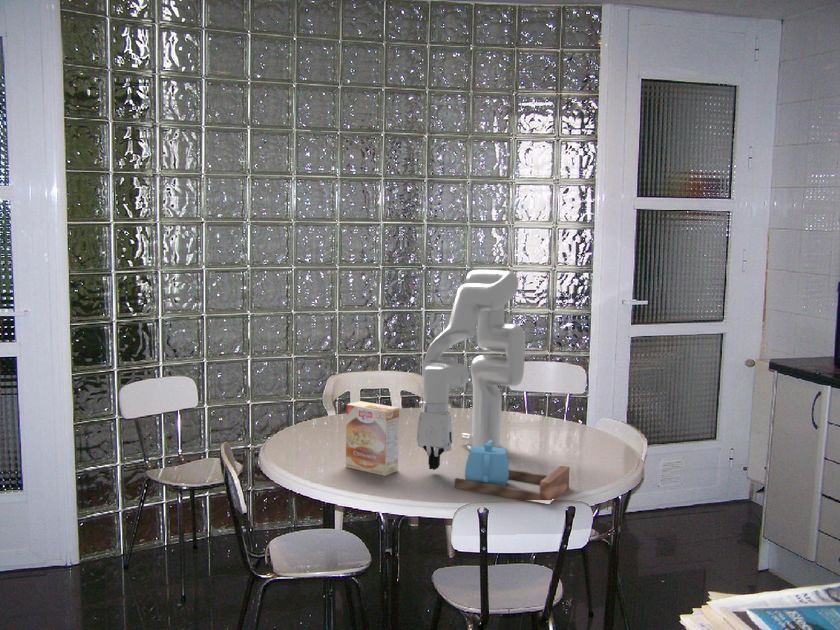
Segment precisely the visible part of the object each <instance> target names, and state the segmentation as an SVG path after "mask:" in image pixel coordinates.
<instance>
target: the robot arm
mask: <svg viewBox="0 0 840 630" xmlns="http://www.w3.org/2000/svg"><path fill="white" fill-rule="evenodd" d="M465 281H466V283H464V284H461V285H460V286H459V287H458V289H457V290H456V291H457V292H456V294H455V298H454V303H453V305H452V309H451V312H450V316H449V317H450V318H449V320H448V323H447V324H448V325H447V327H446V328H445V329H444V330H443V331H442V332H440V333H439V334H438V335H437V336H436V337H435V338H434V340H433V341H432V342H431V343H430V345H429V346H428V348H427V350H426V354H425V357H424V360H423V363H422V364H423V365H422V371H421V375H422V379H423V389H422V390H423V392H422V394H423V398H422V401H419V402H418V403H419V405H418V406H420V407H422V408H421V409H422V410H420V412H419V415H418V419H417V420H418V421H417V424H416V425H417V426H416V437H415V439H416V443H417V446H418V447H419V448H422V449H423V450H424V451H425V452H426V455H427V456H428V468H429V470H433V471H435V470H437V469H438V468H439V467H440V466H441V465H440V464H441V455H443V453H444V452H445V453H446V452H451V451H452V450H453V449H452V444H453V422H452V415H451V412H450V411H449V402H450V401H449V400H450V399H449V397H450V389H460V388H463V387H464V386H465V385H466V384H467V383H468V381H469V379H470V375H471V382H472V415H471V416H472V418H471V433H465V432H462V433H461V435H460V438H461V441H467V442H468V443H467V444H466V449H467V450H468V451H470V450H471V447H472V446H484V445H483V444H487V442H488V440H492V445H493V447H497V448H504V449H505V450H506V448H505V447H506V446H505V445H504V444H503V443H501V433H502V432H501V427H502V403H503V401H502V399H503V397H502V393H501V391H500V389H499V387H498V386H503V387H513V388H516V387H517V386H519V385H521V383H522V380H523V377H524V373H525V371H524V369H525V355H526V334H525V332H524V329H523V327H521V325H519V324H516V323H507V322H505V305H507V303H508V302H509V301H510V300H511V299H513V297H514V296H515V295H516V293H517V291H518V289H519V278H518V276H517V275H516V273H514V272H513V271H510V270H497V269H473V270H471V271H468V273H467V275H466V279H465ZM476 328H477V332H476ZM475 333H477V334H476V335H477V336H476V340H477V341H476V342H477V345H478V347H479V348H480V349H481V350H483V351H489V352H497V353H505V354H506V356H505V355H504V356H502V355H493V354H480V355H479V354H478V355H477V356H475V357H474V358H473V359H472V362H471V363H470V371H469V368H468V367H467V366H466V365H464V364H462V363H459V362H450V361H445V360H444V361H443V360H441V357H442V355H443V353H445V351H446V350H447V349H448V348H450V347H452V346H453V345H455V344H458V343H460V342H463V341H465V340H469V339H471V338H472V337H474V335H475Z"/></svg>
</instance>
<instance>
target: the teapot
mask: <svg viewBox="0 0 840 630" xmlns="http://www.w3.org/2000/svg"><path fill="white" fill-rule="evenodd" d="M483 445H484V446H472V447H471V450H469V453H468V456H467V458H466V463H465V468H464V469H465V470H464V478H465V479H466V480H471V481H477V482H483V483H488V484H494V485H499V486H505V487H506V485H507V483H508V480H509V478H508V477H509V469H510V468H509V460H508V455H507V450H506V448H505V449H504V448H497V447H493V445H492V440H488V442H487V444H483Z"/></svg>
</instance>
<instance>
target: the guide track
mask: <svg viewBox="0 0 840 630" xmlns="http://www.w3.org/2000/svg"><path fill="white" fill-rule="evenodd" d="M509 479H510V480H516V481H521V482H527V483H531V484H539V486H540V487H539V492H538V491H532V490H526V489H520V488H516V487H509V486H506V485H505V486H499V485H494V484H488V483H483V482H477V481H471V480H466V479H464V478H461V477H460V478H459V477H456V478H454V488H456V489H460V490H466V491H471V492H477V493H482V494H485V495H486V494H487V495H493V496H498V497H503V498H509V499H515V500H520V501H524V500H552V499H555V500H556V499H557V498H559V496H561V495H562V494H563V493H564V492H565V491H567V490H568V489H569V488H570V487H569V485H570V466H565V465H560V466H558V467H557V468H556V469H555V470H553V471H552V472H550V474H547V475H546V474H541V473H536V472H530V471H523V470H518V469H517V470H516V469H512V468H509V477H508V480H509Z"/></svg>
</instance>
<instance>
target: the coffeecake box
mask: <svg viewBox="0 0 840 630" xmlns="http://www.w3.org/2000/svg"><path fill="white" fill-rule="evenodd" d="M345 430H346V431H345V432H346V433H345V435H346V437H345V438H346V439H345V467H346V468H347V469H353V470H357V471H361V472H366V473H370V474H374V475H378V476H383V477H386V476H390V475H391V474H393V473H396V472H398V471H399V444H400V443H399V442H400V441H399V434H400V407H397V406H392V405H391V406H390V405H386V404H379V403H373V402H368V401H362V400H359V401H354V402H349V403H346V429H345Z"/></svg>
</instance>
